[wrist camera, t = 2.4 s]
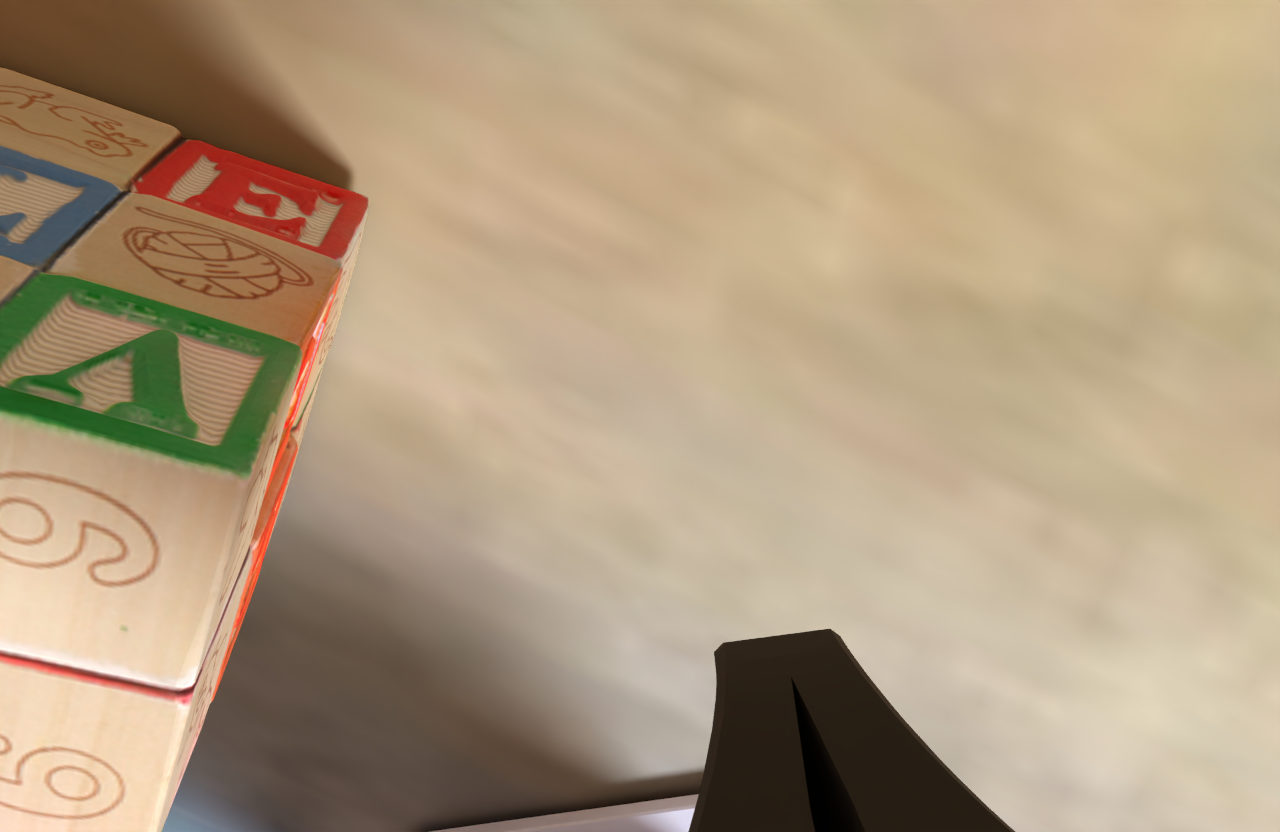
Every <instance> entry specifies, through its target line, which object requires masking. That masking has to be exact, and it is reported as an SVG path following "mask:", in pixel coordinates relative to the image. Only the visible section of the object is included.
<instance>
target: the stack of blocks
mask: <svg viewBox="0 0 1280 832" xmlns="http://www.w3.org/2000/svg"><path fill="white" fill-rule="evenodd" d="M368 209H369V201H368V197H365V196H363V195H361V194H358V193H356V192H353V191H349V190H346V189H343V188H340V187H336V186H333V185H330V184H327V183H324V182H321V181H318V180H315V179H312V178H309V177H306V176H303V175H300V174H297V173H294V172H291V171H288V170H285V169H282V168H279V167H276V166H273V165H270V164H267V163H264V162H261V161H258V160H254V159H251V158H248V157H246V156H243V155H240V154H238V153H235V152H232V151H228V150H223V149H220V148H217V147H215V146H212V145H210V144H207V143H205V142H203V141H200V140H188V139H185V138H183V137H182V135H181V133H180V131H179V130H178V129H176V128H175V127H174V126H171V125H169V124H166V123H163V122H160V121H157V120H154V119H151V118H148V117H145V116H143V115H140V114H137V113H134V112H131V111H128V110H125V109H122V108H120V107H117V106H114V105H111V104H108V103H105V102H102V101H99V100H96V99H94V98H91V97H88V96H85V95H82V94H79V93H76V92H73V91H70V90H67V89H65V88H62V87H59V86H56V85H53V84H50V83H47V82H44V81H41V80H38V79H36V78H33V77H30V76H27V75H24V74H21V73H18V72H15V71H12V70H9V69H5V68H0V832H162V829H163V827H164V824H165V821H166V819H167V816H168V814H169V811H170V808H171V806H172V803H173V801H174V798H175V795H176V793H177V790H178V788H179V785H180V782H181V780H182V777H183V775H184V772H185V769H186V767H187V764H188V762H189V759H190V756H191V754H192V751H193V749H194V746H195V744H196V741H197V739H198V736H199V733H200V731H201V728H202V725H203V723H204V720H205V717H206V714H207V711H208V708H209V705H210V703H211V702H212V701H213V700H214V697H215V694H216V692H217V689H218V687H219V684H220V681H221V679H222V676H223V673H224V671H225V668H226V665H227V663H228V660H229V657H230V655H231V652H232V649H233V646H234V644H235V641H236V638H237V636H238V633H239V630H240V628H241V625H242V622H243V619H244V616H245V614H246V611H247V608H248V605H249V602H250V599H251V597H252V594H253V591H254V588H255V585H256V583H257V579H258V576H259V573H260V569H261V566H262V562H263V559H264V555H265V552H266V549H267V547H268V544H269V541H270V538H271V535H272V532H273V529H274V526H275V523H276V520H277V517H278V514H279V512H280V509H281V506H282V503H283V500H284V497H285V494H286V491H287V488H288V485H289V482H290V479H291V475H292V472H293V469H294V465H295V462H296V458H297V455H298V452H299V448H300V445H301V441H302V438H303V435H304V431H305V428H306V424H307V421H308V418H309V414H310V411H311V407H312V404H313V400H314V397H315V393H316V390H317V387H318V383H319V380H320V376H321V373H322V369H323V366H324V362H325V359H326V357H327V354H328V351H329V349H330V346H331V343H332V341H333V338H334V334H335V331H336V328H337V324H338V321H339V317H340V314H341V311H342V307H343V304H344V300H345V297H346V294H347V290H348V287H349V283H350V280H351V277H352V273H353V270H354V266H355V262H356V259H357V255H358V251H359V248H360V244H361V240H362V236H363V231H364V227H365V222H366V218H367V213H368Z"/></svg>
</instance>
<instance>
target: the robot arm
mask: <svg viewBox="0 0 1280 832" xmlns="http://www.w3.org/2000/svg"><path fill="white" fill-rule="evenodd" d="M714 656H715V665H716V675H717V686H716V702H715V711H714V719H713V727H712V733H711V738H710V744H709V749H708V754H707V759H706V765H705V770H704V775H703V779H702V784H701V788H700V792H699V794H695V795H688V796H681V797H674V798H667V799H660V800H652V801H645V802H638V803H631V804H624V805H616V806H609V807H602V808H595V809H588V810H581V811H573V812H566V813H559V814H552V815H545V816H537V817H530V818H523V819H516V820H509V821H502V822H494V823H487V824H480V825H473V826H466V827H458V828H451V829H444V830H437V831H430V832H1015V831H1014V830H1013V829H1011V828H1010V827H1009V826H1008V825H1007V824H1006V823H1005V822H1004V821H1003V820H1001V819H1000V818H999V817H998V816H997V815H996V814H995V813H994V812H993V811H992V810H991V809H989V808H988V807H987V806H986V805H985V804H984V803H983V802H982V801H981V800H980V799H979V798H978V797H977V796H976V795H975V794H974V793H973V792H972V791H971V790H970V789H969V788H968V787H967V786H966V785H965V784H964V783H963V782H962V781H961V780H960V779H959V778H958V777H957V776H956V775H955V774H954V773H953V772H952V771H951V770H950V769H949V768H948V767H947V766H946V765H945V764H944V763H943V762H942V761H941V760H940V759H939V758H938V757H937V756H936V755H935V753H934V752H933V751H932V750H931V749H930V748H929V747H928V746H927V745H926V744H925V742H924V741H923V740H922V739H921V738H920V737H919V736H918V735H917V734H916V733H915V731H914V730H913V729H912V728H911V727H910V726H909V725H908V724H907V723H906V721H905V720H904V719H903V718H902V717H901V716H900V714H899V713H898V712H897V711H896V710H895V709H894V707H893V706H892V705H891V704H890V703H889V701H888V700H887V699H886V698H885V696H884V695H883V694H882V693H881V691H880V690H879V689H878V688H877V687H876V685H875V684H874V683H873V682H872V680H871V679H870V678H869V676H868V675H867V674H866V672H865V671H864V670H863V668H862V667H861V666H860V664H859V663H858V662H857V660H856V659H855V658H854V656H853V655H852V653H851V652H850V650H849V649H848V648H847V646H846V645H845V643H844V642H843V640H842V639H841V637H840V636H839V635H838V634H836V633H835V632H834V631H832V630H831V629H824V630H817V631H809V632H802V633H794V634H787V635H779V636H771V637H764V638H756V639H749V640H741V641H734V642H726V643H723V644H722V645H721V646H720V647H719V648H718V649H717V650H716V651H715V652H714Z"/></svg>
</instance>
